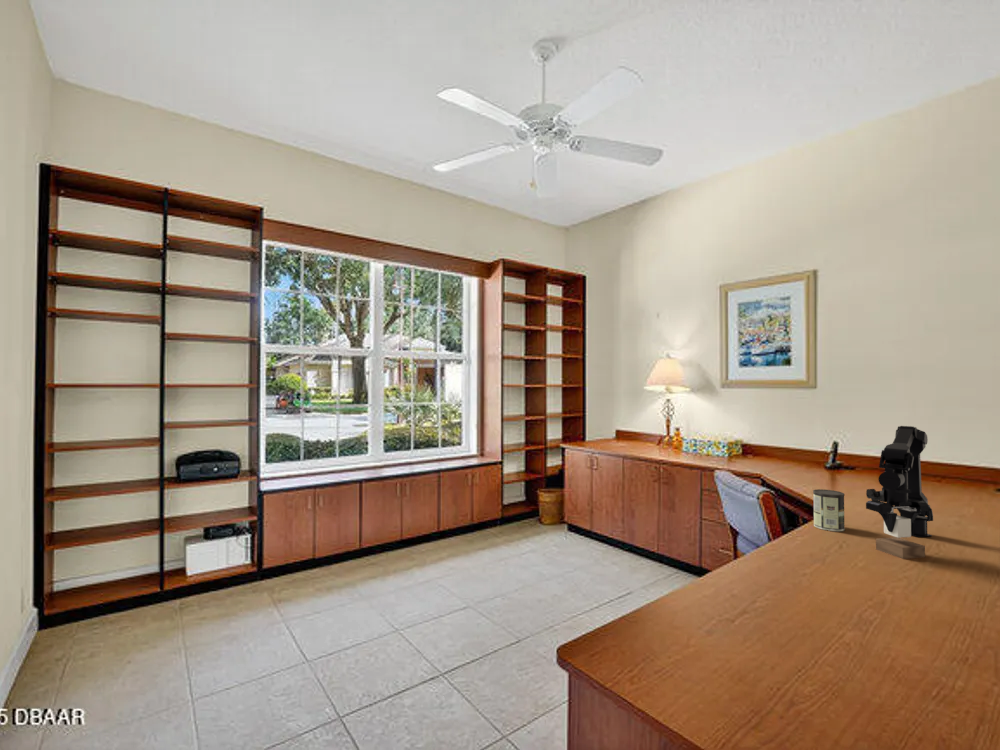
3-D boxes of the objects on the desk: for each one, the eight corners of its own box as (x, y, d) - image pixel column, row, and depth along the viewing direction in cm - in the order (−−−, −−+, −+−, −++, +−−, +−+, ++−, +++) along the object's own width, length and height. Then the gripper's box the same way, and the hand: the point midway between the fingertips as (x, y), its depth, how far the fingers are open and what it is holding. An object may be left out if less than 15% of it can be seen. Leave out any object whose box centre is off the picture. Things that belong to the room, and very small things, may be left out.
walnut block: (897, 548, 165) (897, 537, 165) (925, 558, 156) (924, 545, 156) (875, 550, 163) (875, 538, 163) (902, 559, 154) (902, 547, 154)
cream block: (896, 532, 163) (896, 514, 163) (911, 537, 158) (910, 518, 158) (883, 532, 162) (883, 515, 162) (898, 537, 157) (897, 519, 157)
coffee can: (833, 523, 192) (832, 489, 193) (851, 531, 182) (851, 495, 182) (807, 523, 193) (807, 488, 193) (824, 531, 182) (824, 494, 183)
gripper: (897, 479, 169) (898, 523, 169) (851, 481, 167) (851, 525, 167) (929, 486, 158) (930, 533, 158) (881, 488, 156) (881, 535, 156)
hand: (897, 531), depth 160 cm, fingers closed on cream block, 5 cm apart
